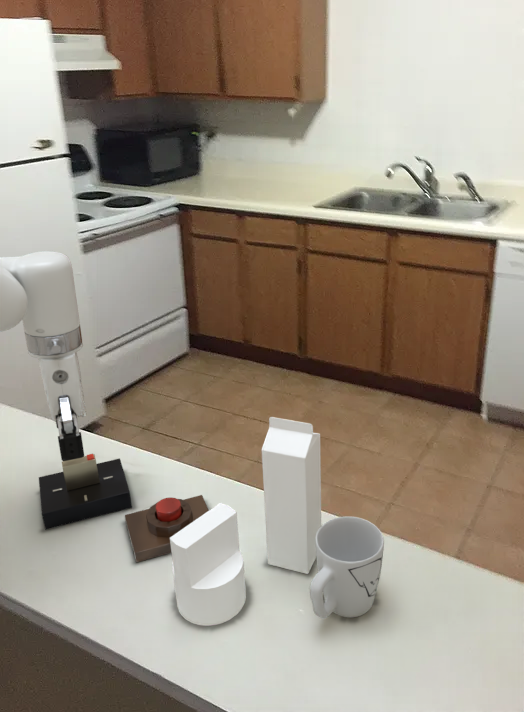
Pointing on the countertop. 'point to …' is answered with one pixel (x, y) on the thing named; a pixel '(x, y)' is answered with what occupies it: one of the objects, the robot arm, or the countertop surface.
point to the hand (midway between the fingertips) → (70, 441)
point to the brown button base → (160, 528)
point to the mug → (346, 567)
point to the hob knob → (80, 472)
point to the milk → (291, 493)
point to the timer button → (168, 509)
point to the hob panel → (84, 496)
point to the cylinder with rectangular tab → (209, 568)
